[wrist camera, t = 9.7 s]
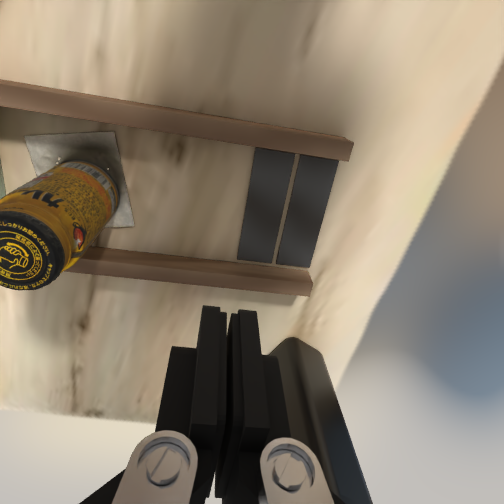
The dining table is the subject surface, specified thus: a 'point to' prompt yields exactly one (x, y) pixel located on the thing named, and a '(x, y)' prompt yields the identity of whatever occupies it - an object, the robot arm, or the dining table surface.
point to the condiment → (61, 207)
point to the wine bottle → (320, 419)
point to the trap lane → (258, 201)
